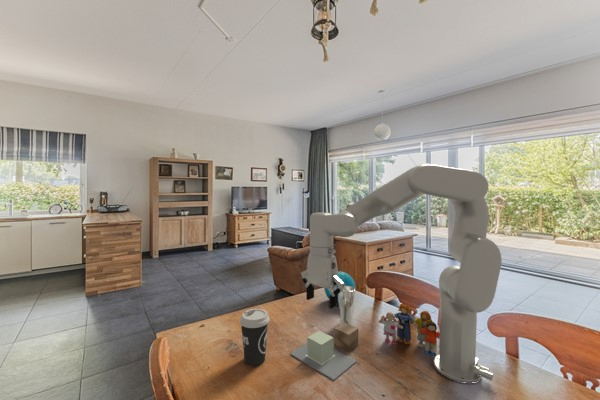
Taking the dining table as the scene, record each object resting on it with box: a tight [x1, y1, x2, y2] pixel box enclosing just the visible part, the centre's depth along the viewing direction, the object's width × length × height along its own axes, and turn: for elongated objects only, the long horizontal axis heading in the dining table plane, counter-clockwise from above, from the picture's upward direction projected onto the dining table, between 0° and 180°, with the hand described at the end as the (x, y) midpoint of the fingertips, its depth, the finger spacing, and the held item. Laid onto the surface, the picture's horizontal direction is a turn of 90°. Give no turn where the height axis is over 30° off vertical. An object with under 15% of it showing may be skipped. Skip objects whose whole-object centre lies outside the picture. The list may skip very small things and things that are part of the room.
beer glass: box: [338, 286, 357, 327], centre depth 111 cm, size 7×7×15 cm
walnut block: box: [333, 323, 359, 352], centre depth 97 cm, size 6×6×6 cm
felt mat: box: [289, 342, 358, 381], centre depth 90 cm, size 18×12×1 cm, turn 46°
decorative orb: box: [323, 270, 356, 305], centre depth 133 cm, size 15×15×15 cm
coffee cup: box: [239, 308, 271, 367], centre depth 88 cm, size 10×10×15 cm
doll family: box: [378, 303, 440, 358], centre depth 98 cm, size 21×10×13 cm, turn 60°
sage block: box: [307, 330, 334, 364], centre depth 90 cm, size 6×6×6 cm
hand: (321, 302), depth 90 cm, fingers open, 9 cm apart
